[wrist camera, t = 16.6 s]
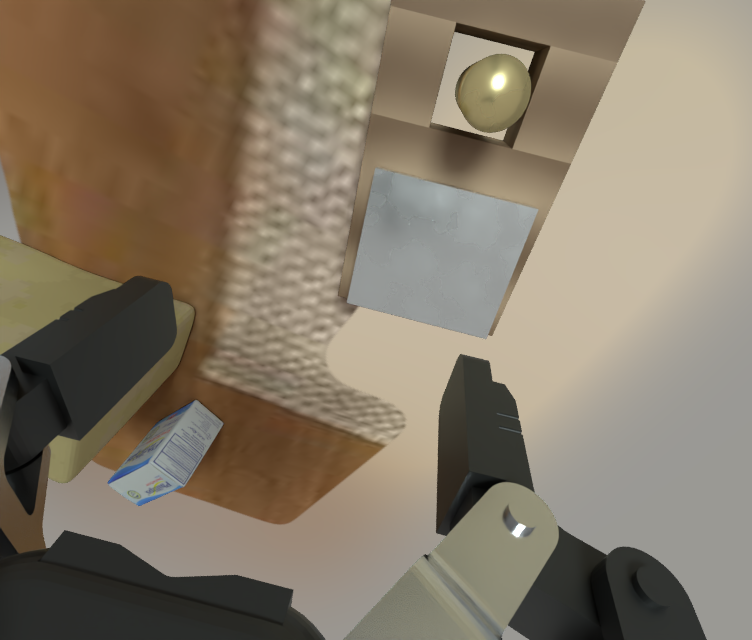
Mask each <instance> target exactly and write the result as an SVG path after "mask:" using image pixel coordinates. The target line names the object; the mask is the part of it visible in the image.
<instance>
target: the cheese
mask: <svg viewBox="0 0 752 640" xmlns="http://www.w3.org/2000/svg"><path fill="white" fill-rule="evenodd" d="M121 285H122V283H119V282H116V281H113V280H110V279H107V278H104V277H101V276H98V275H95V274H93V273H90V272H87V271H85V270H82V269H79V268H77V267H75V266H72V265H70V264H67V263H65V262H63V261H61V260H58V259H56V258H54V257H52V256H50V255H47V254H45V253H43V252H41V251H38V250H36V249H34V248H31V247H29V246H26V245H24V244H21V243H19V242H16V241H13V240H11V239H9V238H6V237H3V236H1V235H0V355H1V354H2V353H4V352H6V351H7V350H9V349H10V348H12V347H13V346H15V345H16V344H18V343H20V342H21V341H23V340H24V339H26V338H27V337H29V336H31V335H32V334H34V333H35V332H37V331H38V330H40V329H41V328H43V327H45V326H46V325H48V324H49V323H51V322H52V321H54V320H56V319H57V320H59V319H60V316H62V315H63V314H65V313H66V312H68V311H70V310H74V307H76V306H77V305H79V304H81V303H82V302H84V301H85V300H87V299H88V298H90V297H91V296H94V295H97V294H100V293H103V292H106V291H109V290H112V289H116V288H118V287H119V286H121ZM173 302H174V309H175V317H176V324H177V335H176V339H175V342H174V344H173V346H172V347H171V349H170V350H169V351H168V352H167V353H166V354H165V355H164V356H163V357H162V358H161V359H160V360H159V361H158V362H157V363H156V364H155V365H154V366H153V367H152V368H151V369H150V370H149V371H148V372H147V373H146V374H145V375H144V376H143V377H142V379H141V380H140V381H139V382H138V383H137V384H136V385H135V386H134V387H133V388H132V389H131V390H130V391H129V392H128V393H127V394H126V395H125V396H124V397H123V398H122V399H121V400H120V401H119V402H118V403H117V404H116V405H115V406H114V407H113V408H112V409H111V410H110V411H109V412H108V413H107V414H106V415H105V416H104V417H103V418H102V419H101V420H100V421H99V422H98V423H97V424H96V425H95V426H94V427H93V428H92V429H91V430H90V431H89V432H88V433H87V434H86V435H85V436H84V437H83V438H82V439H81V440H80V441H78V440H74V439H70V438H66V437H62V436H57V437H55V438H54V439H53V440H52V441H51V442H50V443H49V446H50V449H51V458H50V466H49V474H48V478H49V479H51V480H53V481H56V482H58V483H68V482H69V481H71V480H72V479H73V478H74V477H75V476H76V475H78V473H79V472H80V471H81V470H82V469H83V468H84V467H85V466H86V465H87V464H88V463H89V462H90V461H91V460H92V459H93V458H94V457H95V455H96V454H97V453H98V452H99V451H100V450H101V449H102V448H103V447H104V446H105V445H106V444H107V443H108V442H109V441H110V440H111V438H112V437H113V436H114V435H115V434H116V433H117V432H118V431H119V430H120V429H121V428H122V427H123V426H124V425H125V424H126V422H127V421H128V420H129V419H130V418H131V417H132V416H133V415H134V414H135V413H136V412H137V411H138V410H139V408H140V407H141V406H142V405H143V404H144V403H145V402H146V401H147V400H148V399H149V398H150V397H151V395H152V394H153V393H154V392H155V391H156V390H157V389H158V388H159V387H160V386H161V385H162V383H163V382H164V381H165V380H166V379H167V378H168V377H169V376H170V375H171V374H172V373H173V372H174V370H175V369H176V368H177V366H178V365H179V362H180V360H181V357H182V354H183V351H184V348H185V345H186V342H187V339H188V337H189V334H190V331H191V328H192V324H193V321H194V316H195V310H194V308H193V307H192V306H191V305H189V304H187V303H184V302H181V301H177V300H174V299H173Z"/></svg>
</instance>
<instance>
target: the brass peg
mask: <svg viewBox="0 0 752 640" xmlns="http://www.w3.org/2000/svg"><path fill="white" fill-rule="evenodd" d="M530 95H531V80H530V76H529V73H528V71H527V69H526V67H525V66H524V64H523V63H522V62H521V61H520V60H518V59H517V58H515V57H513V56H511V55H507V54H495V55H492V56H489V57H486V58H484V59H482V60H480V61H478V62H476V63H474V64H473V65H471V66H469V67H468V68H467V69H465V70H464V72H463V73H462V74H461V76H460V77H459V79H458V82H457V84H456V90H455V97H456V101H457V104H458V106H459V108H460V110H461V112H462V113H463V115H464V117H465V119H466V120H467V121H468V123H469V124H470V125H471V126H473V127H474V128H475V129H477V130H480V131H482V132H487V133H492V132H498V131H502V130H505V129H506V128H508V127H510V126H511V125H513V124H514V123H515V122H516V121H517V120H518V119H519V118H520V117H521V116H522V114H523V113H524V111H525V109H526V107H527V105H528V102H529V99H530Z"/></svg>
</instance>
